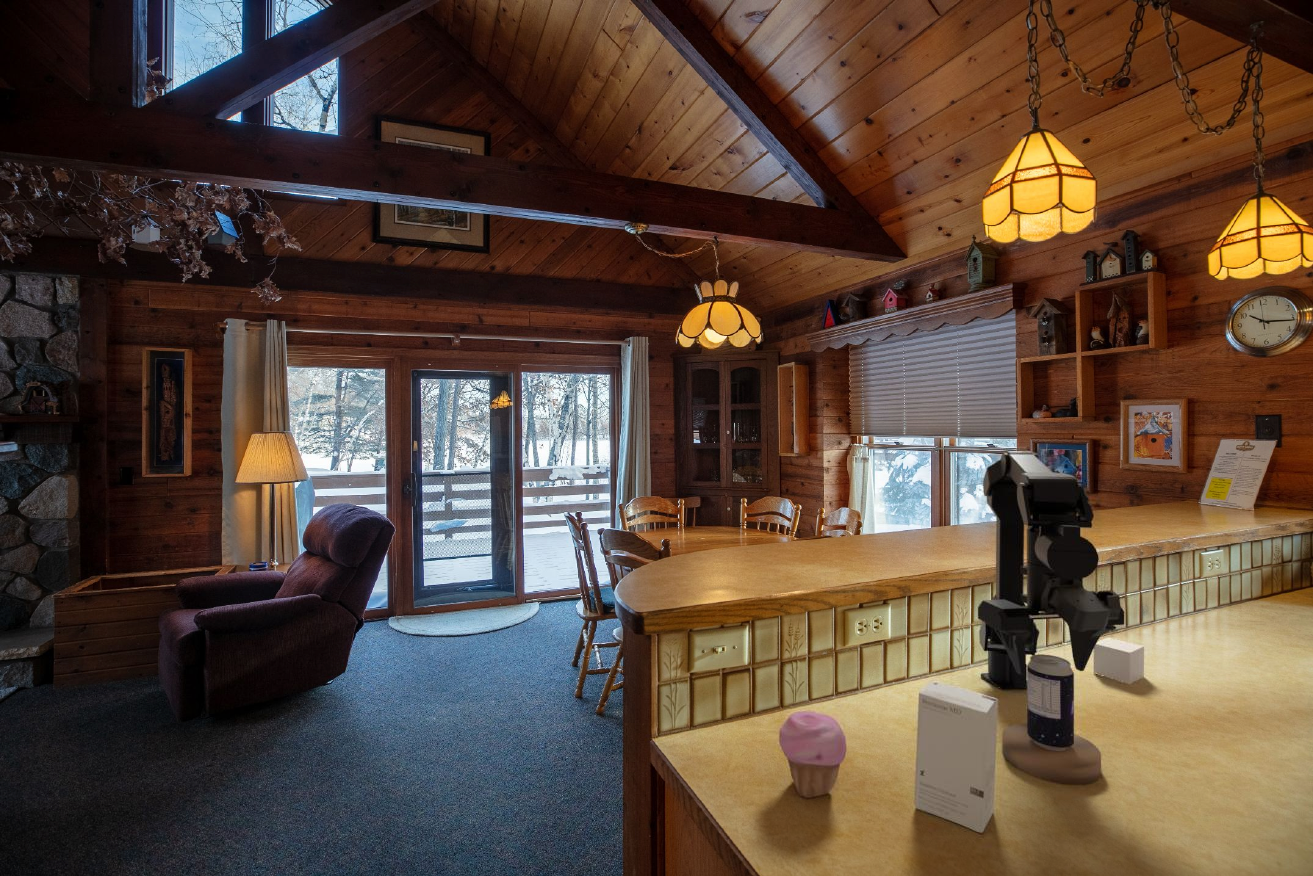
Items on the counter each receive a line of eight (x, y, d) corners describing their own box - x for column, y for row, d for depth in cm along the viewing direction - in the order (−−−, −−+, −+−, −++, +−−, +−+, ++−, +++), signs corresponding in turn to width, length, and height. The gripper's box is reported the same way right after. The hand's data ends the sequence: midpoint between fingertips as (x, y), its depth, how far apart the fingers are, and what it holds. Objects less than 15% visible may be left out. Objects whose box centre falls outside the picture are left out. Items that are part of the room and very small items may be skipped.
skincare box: (913, 809, 79) (913, 692, 79) (928, 788, 84) (928, 677, 84) (987, 836, 74) (986, 711, 74) (998, 812, 79) (998, 694, 78)
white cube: (1144, 677, 119) (1144, 646, 119) (1130, 685, 116) (1130, 652, 116) (1107, 667, 124) (1107, 637, 124) (1093, 674, 121) (1093, 643, 121)
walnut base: (984, 742, 95) (984, 726, 95) (1057, 737, 97) (1057, 721, 97) (1041, 788, 84) (1041, 769, 83) (1123, 781, 85) (1123, 762, 85)
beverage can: (1081, 755, 87) (1081, 669, 86) (1035, 751, 88) (1035, 666, 88) (1064, 735, 92) (1064, 654, 92) (1021, 732, 94) (1021, 652, 93)
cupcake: (772, 772, 88) (771, 701, 88) (832, 769, 89) (832, 699, 89) (790, 811, 79) (790, 732, 79) (857, 807, 80) (857, 729, 80)
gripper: (1029, 579, 81) (1029, 700, 81) (1160, 573, 83) (1160, 691, 83) (975, 561, 92) (975, 667, 92) (1092, 556, 94) (1092, 660, 94)
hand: (1050, 672), depth 90 cm, fingers open, 9 cm apart
